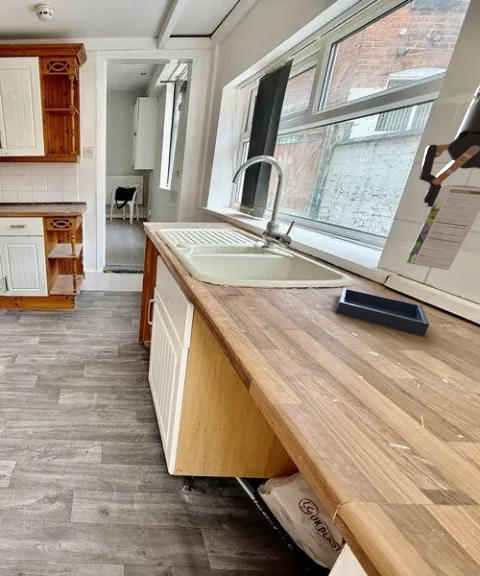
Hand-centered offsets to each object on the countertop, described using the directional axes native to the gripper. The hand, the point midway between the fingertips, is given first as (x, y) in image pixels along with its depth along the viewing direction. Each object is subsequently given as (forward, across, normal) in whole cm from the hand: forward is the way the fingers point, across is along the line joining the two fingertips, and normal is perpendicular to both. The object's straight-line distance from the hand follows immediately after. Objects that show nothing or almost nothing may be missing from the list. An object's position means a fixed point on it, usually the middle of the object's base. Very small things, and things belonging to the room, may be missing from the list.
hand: (454, 208), depth 55 cm
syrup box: (+11, 0, 0) cm, 11 cm away
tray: (+27, +2, -12) cm, 30 cm away
